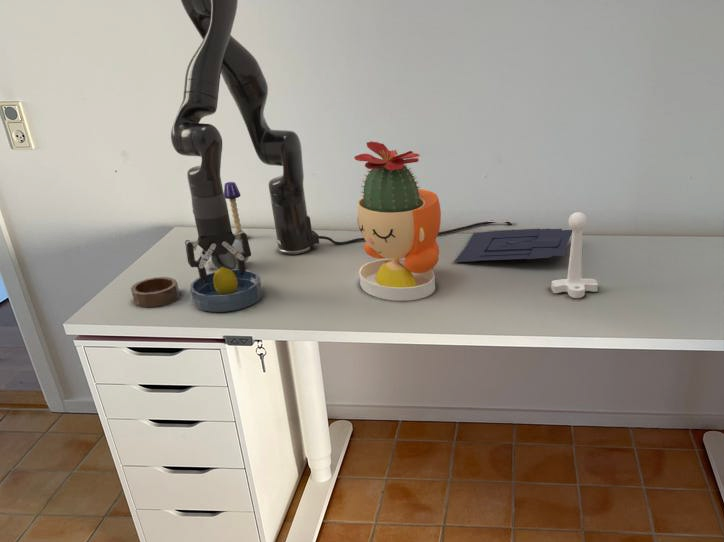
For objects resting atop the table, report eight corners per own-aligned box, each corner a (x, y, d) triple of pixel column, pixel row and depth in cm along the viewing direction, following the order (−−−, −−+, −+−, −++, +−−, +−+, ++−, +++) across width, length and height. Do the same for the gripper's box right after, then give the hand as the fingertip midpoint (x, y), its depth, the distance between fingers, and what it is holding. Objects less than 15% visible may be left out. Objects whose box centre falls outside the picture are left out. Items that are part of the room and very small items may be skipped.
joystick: (593, 285, 180) (599, 208, 170) (600, 298, 173) (606, 219, 163) (550, 287, 179) (553, 210, 169) (555, 300, 173) (558, 220, 163)
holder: (175, 286, 182) (172, 273, 180) (183, 301, 174) (180, 288, 173) (131, 295, 178) (128, 282, 176) (138, 311, 170) (134, 297, 168)
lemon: (233, 303, 172) (227, 272, 168) (212, 301, 173) (206, 270, 169) (244, 293, 177) (238, 263, 173) (224, 292, 178) (217, 262, 174)
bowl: (252, 280, 185) (249, 264, 183) (271, 303, 173) (268, 286, 171) (187, 294, 178) (184, 278, 175) (202, 319, 166) (198, 301, 163)
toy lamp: (229, 238, 213) (218, 183, 205) (243, 234, 216) (233, 179, 207) (236, 242, 210) (226, 186, 202) (251, 238, 213) (241, 183, 204)
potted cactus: (401, 307, 170) (391, 160, 152) (343, 283, 183) (327, 144, 166) (463, 280, 183) (460, 142, 166) (405, 259, 197) (397, 129, 179)
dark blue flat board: (563, 267, 187) (563, 254, 185) (454, 271, 195) (452, 259, 193) (574, 236, 207) (573, 224, 206) (475, 241, 215) (473, 229, 213)
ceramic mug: (253, 263, 195) (248, 236, 192) (240, 274, 188) (234, 247, 185) (217, 261, 197) (211, 235, 193) (203, 273, 190) (196, 245, 186)
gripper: (182, 222, 158) (197, 289, 166) (246, 211, 165) (257, 276, 173) (175, 213, 164) (190, 278, 172) (237, 203, 170) (249, 266, 178)
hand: (223, 277), depth 172 cm, fingers open, 8 cm apart
